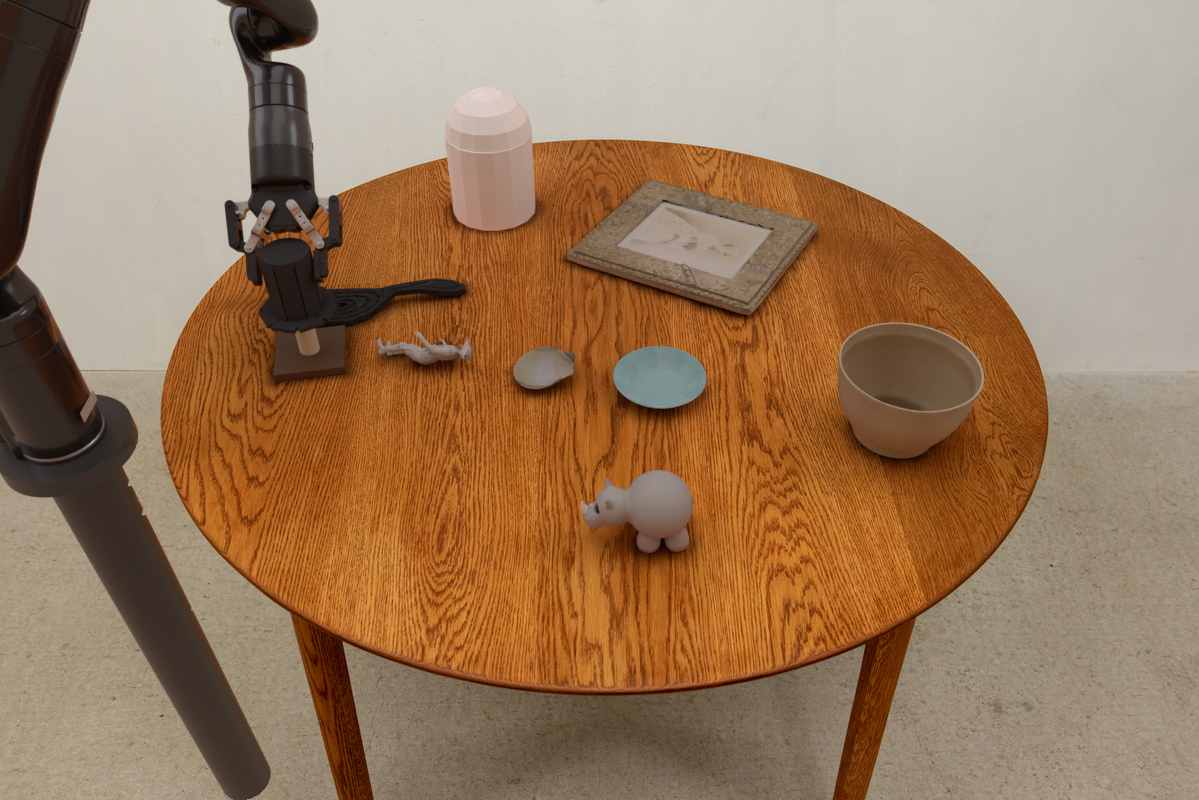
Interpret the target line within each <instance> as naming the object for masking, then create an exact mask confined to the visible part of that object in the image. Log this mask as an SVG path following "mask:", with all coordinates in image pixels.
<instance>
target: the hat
mask: <svg viewBox="0 0 1199 800" xmlns="http://www.w3.org/2000/svg"><path fill="white" fill-rule="evenodd" d="M259 264H260V267H261V271H262V279H263V281H264V284H265V288H266V291H267V294H268V297H267V299H266V300H265V301H264V302H263V304H262V305H261V306H260V307H259V309H258V311H259V312H258V316H259V317H260V319H261V320H262V322H263V324H264V325H265V327H266V329H268V330H269V329H270V331H271V332H276V333H280V332H284V333H291V334H296V332H297V331H298V330H299V332H300V333H303V332H306V331H309V330H311V329H314V328H321V327H320V326H323V325H325V323H324V322H329V321H330V320H331V318H332V317H333V315H334V314H335V312H336V311H337V309H338V308H339V306H338V305H339V302H338V300H337V299H336V297H335V296H334V295H333V293H332V292H331V291H330V289H331V288H326V286H322V285H320V283H317V282H316V281H315V278H314V262H313V251H312V248H311V246H310V245H309V243H308V242H307V241H305V240H304V239H301V238H298V237H282V238H281V237H280V238H277V239H274V240H271V241H269V242H266V243H265V244H264V246H263V247H262V248H261V249H260V251H259ZM321 286H322V287H321ZM326 289H327V290H326Z"/></svg>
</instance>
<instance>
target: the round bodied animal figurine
mask: <svg viewBox="0 0 1199 800" xmlns="http://www.w3.org/2000/svg"><path fill="white" fill-rule="evenodd" d="M604 483H605V484H604V485H605V486H604V487H603V488H602V489H601V490H600V491H598V493H597V495H596V498H595V501H592V502H589V503H588V504H586V502H585V500H581V503H580V504H579V507H580V511H581V512H582V517H583V520H584V522H585V524H586V525H587V526H588V527H590V528H592V529H602V528H603V527H604V526H609V527H618V526H621V525H624V523H628V524H630V525H631V526H632V527H633V528H634V529H635V530H636V531H637V532H638V533H637V536H636V546H637V548H638V550H640V551H641V552H643V553H646V554H652V553H654V552H656V551H657V550H658V549H660V546H661V542H662V539H664V545H665V547H666V548H667V549H669V550H670V551H672V552H674V553H680V552H683V551H685V550H686V549H687V548H688V547H689V544H690V535H689V533H688V530H687V528H686V526H687V524H688V523H689V521H690V519H691V517H692V514H693V509H694V503H695V498H694V497H693V496H692V492H691V490H690V487H689V486H688V485H687V483H686V481H684V479H682V478H681V477H680V476H679V475H678V474H676V473H674V472H671V471H669V470H664V469H652V470H649V471H646V472H644V473H642V474H640V475H638V476H637V477H636V478H634V480H633V481H632V482H631V484H630V485H629V487H628V488H626V489H625V488H622V487H619V486H615V485H613V484H612V481H611V480H610V479H609V478H608V477H605V479H604Z"/></svg>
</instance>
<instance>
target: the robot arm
mask: <svg viewBox="0 0 1199 800" xmlns="http://www.w3.org/2000/svg"><path fill="white" fill-rule="evenodd" d="M216 1H217V2H218V3H219V4H222V5H223V6H226V7H229V8H230V9H229V13H228V25H229V30H230V33H231V37H232V40H233V42H234V44H235V45H234V46H235V47H236V51H237V53H238V57H239V59H240V62H241V66H242V69H243V72H244V77H245V80H246V83H247V98H248V99H247V100H248V117H249V118H248V125H247V139H248V142H247V143H248V156H249V157H248V158H249V159H248V160H249V177H250V178H249V179H250V190H251V191H250V196H249V198H248V200H246V201H245V200H244V201H236V202H234V201H233V200H231V199H228V200H226V201H225V202H224V214H225V223H226V224H225V225H226V233H227V244H228V246H229V247H230V248H231V249H232V250H234V251H236V252H237V253H241V254H244V255H245V268H246V269H245V271H246V272H245V273H246V277H247V279H248V281H250V282H251V284H252V285H253V286H255V287H262V286H263V283H264V282H263V281H264V278H263V274H262V271H261V267H260V264H259V251H260V249H261V248H262V247H263V246H264V245H266V244H267V243H268V241H269V240H270V239H271V236H272V235H273V234H275V235H281V234H285V233H292V234H301V232H302V231H303V232H304V234H305V235H306V236H307V237H308V239H309V240H310V242H311V243H312V245H313V246H314V249H312V256H313V262H314V278H315V281H316V282H317V283H319V284H322V283H324V282H325V279H328V277H329V274H330V273H329V270H330V269H329V256H328V255H329V252H330V251H331V250H332V249H335V248H340V247H342V246H343V243H344V240H343V239H344V237H343V235H344V234H343V233H344V232H343V231H344V229H343V226H344V225H343V220H344V219H343V202H342V200H341V199H340V198H339V197H338V196H337V195H335V194H332V195H329V197H318V194H317V193H316V185H315V184H316V183H315V167H314V166H315V165H314V164H315V163H314V142H313V133H312V128H311V123H310V116H309V100H308V99H309V98H308V85H307V79H306V75H305V73H304V72H303V70H302V69H300V67H298V66H296V65H294V64H291V63H288V62H281V61H273V58H272V57H273V56H272V54H273V53H275V52H282V51H287V50H292V49H298V48H302V47H305V46H308V45H309V44H311V43H312V42H313V41H314V40H315V39H316V37H317V35H318V33H319V25H320V24H319V15H318V13H317V9H316V7H315V5H314V3H313V1H312V0H216ZM91 2H92V0H0V443H7V444H8V446H9V447H10V449H11V451H12V452H13V454H14V456H15V457H16V459H17V460H21V459H27V460H28V461H30V462H32V463H36V464H41V465H52V464H59V463H64V462H67V461H70V460H73V459H76V458H78V457H80V456H82V455H84V454H85V453H87V452H88V451H90V450H91V449H92V448H94V447H95V446H96V445H97V444H98V443H99V442H100V440H101V439H102V438H103V436H104V434H105V431H106V422H105V420H104V418H103V415H102V414H101V412H100V410H99V408H98V407H97V405H96V401H97V397H96V395H95V394H96V393H95V391H94V390H90V388H89V386H88V384H87V382H86V380H85V378H84V377H83V374H82V372H81V370H80V368H79V366H78V364H77V361H76V360H75V357H74V356H73V354H72V352H71V350H70V348H69V346H68V344H67V341H66V339H65V338H64V336H63V333H62V331H61V329H60V327H59V325H58V323H57V321H56V319H55V317H54V315H53V313H52V311H51V309H50V306H49V304H48V302H47V300H46V298H45V296H44V294H43V292H42V291H41V289H40V288H39V287H38V285H37V284H36V283H35V282H34V281H33V280H32V279H31V278H30V277H29V276H28V275H27V274H26V273H25V272H24V270H23V269H22V268H21V267H20V266H19V265H18V263H19V261H20V259H21V257H22V255H23V252H24V249H25V246H26V242H27V238H28V233H29V229H30V224H31V218H32V213H33V207H34V202H35V196H36V191H37V186H38V180H39V176H40V170H41V167H42V162H43V158H44V154H45V151H46V149H47V145H48V141H49V138H50V135H51V131H52V128H53V125H54V122H55V118H56V114H57V111H58V107H59V104H60V102H61V101H60V100H61V97H62V94H63V91H64V88H65V85H66V82H67V79H68V77H69V75H70V73H71V70H72V66H73V63H74V59H75V56H76V54H77V51H78V47H79V45H80V41H81V38H82V33H83V32H84V28H85V25H86V20H87V17H88V12H89V9H90V5H91ZM320 208H322V211H323V212H324V214H325V215H326V216H328V236H325V237H323V236H322V235H321V234H320V232H319V231H318V229H317V228H316V226H315V225H314V223H313V222H312V219H313V218H314V217H315V215H316V213H317V212H318V211H319V209H320ZM248 212H251V213H252V214H253V215H254V216H255V218H256V221H255V222H254V224H253V226H252V228H251V231H250V234H249V236H248V238H247V240H246V241H245V238H244V236H245V235H244V229H243V221H244V220H246V218H247V214H248Z"/></svg>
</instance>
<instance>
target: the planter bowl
mask: <svg viewBox="0 0 1199 800" xmlns="http://www.w3.org/2000/svg"><path fill="white" fill-rule="evenodd" d="M837 361H838V363H837V364H838V368H837V369H838V370H837V391H838V396H839V401H840V404H841V407H842V409H843V412H844V414H845V416H846V419H847V420H848V422H849V423H850V425H851V428H852V431H853V434H854V436H855V438H856V439H857V441H858V442H859V443H860V444H861V445H862V446H864V447H865V448H866V449H867V450H869V451H871V452H873V453H874V454H877V455H880V456H882V457H886V458H891V459H912V458H915V457H918V456H920V455H922V454H924V453H925V452H927V451H928V450H929V449H930V448H931V447H932V446H934V445H936V444H938V443H940V442H941V441H943V440H945V439H946V438H947V437H949V436H950V435H951V434H952V433H953V432H955V431H956V429H958V427H959V426H961V424H962V423H963V422H964V421H965V419H966V418H967V416H968V415H969V414H970V412H971V409H972V408H973V406H974V404H975V402H976V400H977V399H978V398H979V395H980V394H981V392H982V390H983V387H984V384H985V374H984V369H983V366H982V363H981V362H980V360H979V358H978V357H977V355H976V354H975V353H974V352H973V351H972V350H971V349H970V348H969V347H968V346H967V345H966V344H964V343H963V342H962V341H960V340H959V339H957V338H955V337H953V336H952V335H950V334H948V333H945V332H943V331H941V330H939V329H936V328H933V327H929V326H927V325H922V324H917V323H911V322H910V323H909V322H896V321H895V322H881V323H876V324H871V325H867V326H865V327H862V328H859V329H857V330H855V331H854V332H852V333H851V334H850V335H849V336H847V337H846V339H844V341H843V343H842V345H841V346H840V349H839V352H838V360H837Z"/></svg>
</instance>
